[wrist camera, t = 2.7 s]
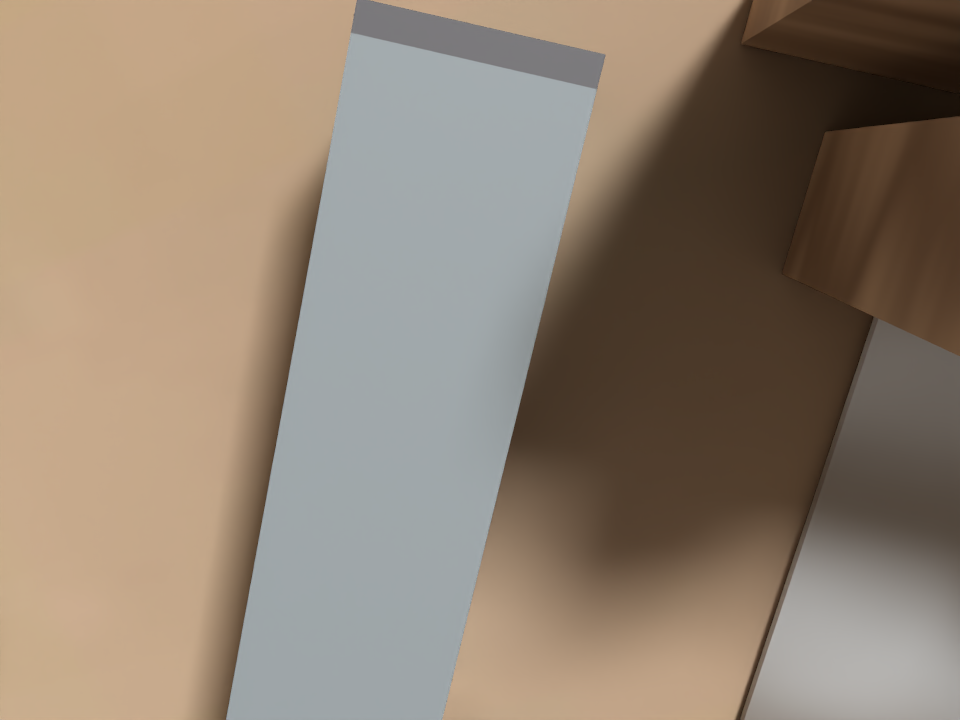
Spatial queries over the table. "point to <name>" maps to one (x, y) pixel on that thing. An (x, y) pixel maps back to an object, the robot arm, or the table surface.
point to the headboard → (878, 386)
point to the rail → (408, 362)
